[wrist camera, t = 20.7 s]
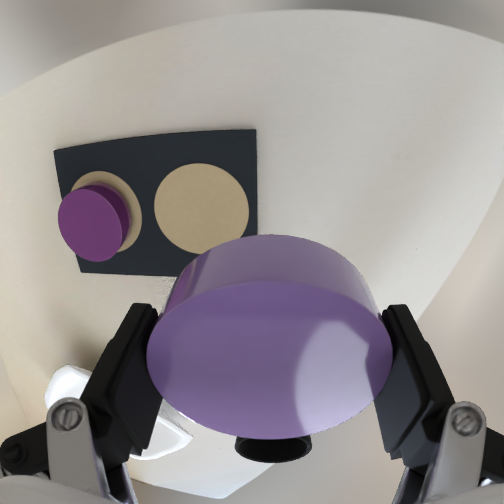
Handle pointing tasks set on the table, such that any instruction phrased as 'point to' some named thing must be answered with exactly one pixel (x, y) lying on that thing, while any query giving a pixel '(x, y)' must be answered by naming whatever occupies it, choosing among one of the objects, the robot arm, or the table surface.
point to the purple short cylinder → (95, 221)
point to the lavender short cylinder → (269, 339)
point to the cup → (273, 448)
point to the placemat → (170, 194)
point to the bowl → (165, 430)
